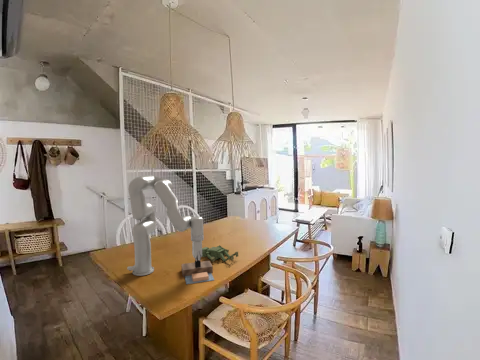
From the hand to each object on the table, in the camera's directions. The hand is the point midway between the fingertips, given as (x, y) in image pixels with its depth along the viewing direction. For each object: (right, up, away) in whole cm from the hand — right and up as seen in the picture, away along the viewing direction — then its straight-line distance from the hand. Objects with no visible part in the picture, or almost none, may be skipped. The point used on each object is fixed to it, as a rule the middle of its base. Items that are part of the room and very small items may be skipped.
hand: (197, 266), depth 155 cm
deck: (-1, -4, +5) cm, 6 cm away
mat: (+2, -5, -5) cm, 7 cm away
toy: (+9, -3, +27) cm, 29 cm away
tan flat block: (+2, -3, -6) cm, 7 cm away
